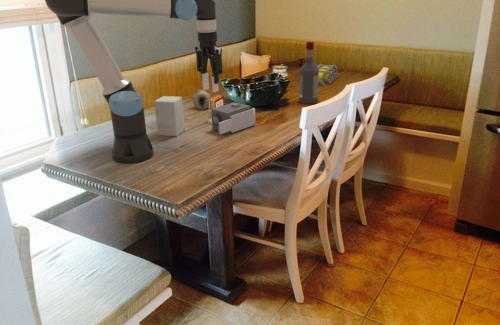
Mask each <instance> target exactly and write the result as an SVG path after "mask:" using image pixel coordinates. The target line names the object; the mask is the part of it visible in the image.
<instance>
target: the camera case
mask: <svg viewBox="0 0 500 325" xmlns="http://www.w3.org/2000/svg"><path fill="white" fill-rule="evenodd" d="M250 109H252V108H251V105H249V104H244V103H240V102H239V103H238V102H235V101H234V102H230V103H227V104H224V105H220V106H216V107H213V108H211V109H210V110H211V128H212V130H214V131H217V132H219V124H218V123H219V122H222V121H225V120H228V119H230V116H232V115H235V114H238V113H241V112H244V111H247V110H250ZM225 134H232V133H231V131H229V132H226V133H225Z"/></svg>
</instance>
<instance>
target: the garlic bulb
mask: <svg viewBox="0 0 500 325" xmlns="http://www.w3.org/2000/svg"><path fill="white" fill-rule="evenodd" d="M192 95H193V96H192V101H193V102H192V104H193V106H194V108H196V109H197V110H199V111H200V110H201V111H202V110H206V109H207V108H209V107H210V106H209V100H210V99H211V100H212V98H211V95H210V93H209V92H207V91H206V90H203V89H197V90H196V91H195V92H194V94H192Z"/></svg>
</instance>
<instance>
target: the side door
mask: <svg viewBox="0 0 500 325" xmlns="http://www.w3.org/2000/svg"><path fill="white" fill-rule="evenodd" d="M218 124H219V131H218V135H223V134H227V133H226V132H229V131H231V133H230V134H232V133H235V132H239V131H241V130H244V129H246V128H249V127H252V126H256V108H255V107H252V108H251V109H250V110H247V111H244V112H241V113H238V114H235V115H232V116H230V119H228V120H225V121H222V122H219V123H218Z"/></svg>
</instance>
